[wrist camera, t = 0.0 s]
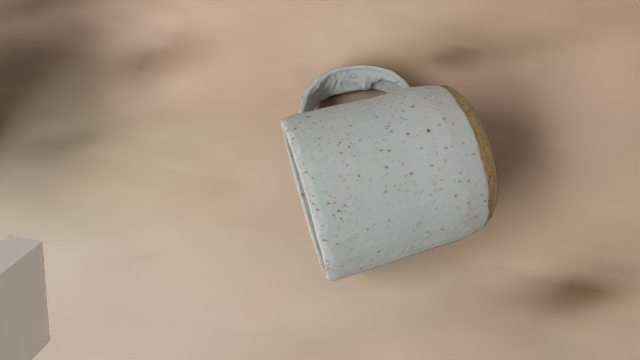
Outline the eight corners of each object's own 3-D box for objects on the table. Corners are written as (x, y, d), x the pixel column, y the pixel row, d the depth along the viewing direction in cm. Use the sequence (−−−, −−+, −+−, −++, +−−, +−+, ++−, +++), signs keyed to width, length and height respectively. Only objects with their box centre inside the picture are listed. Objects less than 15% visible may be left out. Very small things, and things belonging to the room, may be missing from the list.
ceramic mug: (481, 238, 28) (531, 205, 20) (327, 289, 27) (321, 275, 20) (408, 59, 31) (429, -28, 23) (268, 103, 30) (243, 29, 23)
